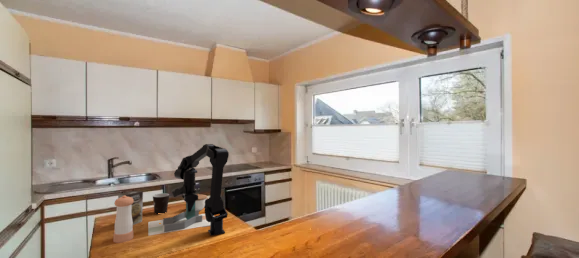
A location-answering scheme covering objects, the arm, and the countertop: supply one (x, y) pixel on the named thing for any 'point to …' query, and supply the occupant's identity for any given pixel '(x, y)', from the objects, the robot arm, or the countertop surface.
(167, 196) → the coffee mug
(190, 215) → the teal peg
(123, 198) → the pepper shaker
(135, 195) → the coffee box
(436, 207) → the countertop surface
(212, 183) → the robot arm
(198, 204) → the lidded jar
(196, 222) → the channel
